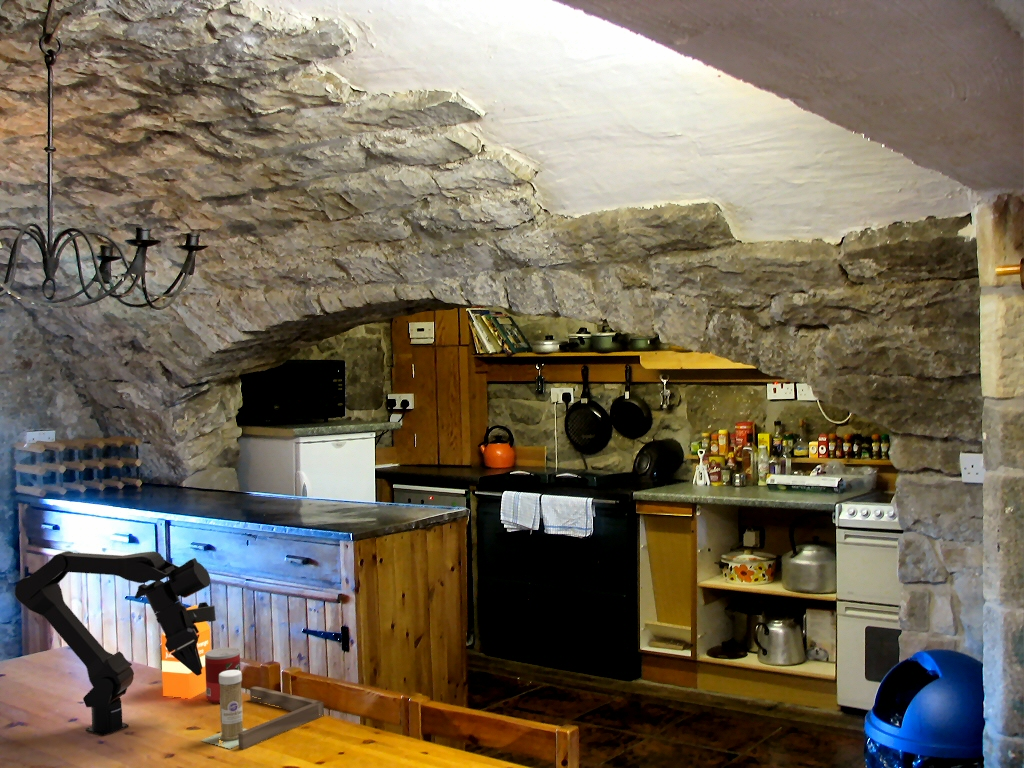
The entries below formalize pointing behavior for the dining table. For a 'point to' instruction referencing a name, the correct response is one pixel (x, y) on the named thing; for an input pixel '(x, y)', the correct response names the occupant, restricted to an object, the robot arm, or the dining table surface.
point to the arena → (300, 715)
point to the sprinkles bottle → (231, 704)
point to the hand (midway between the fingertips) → (200, 672)
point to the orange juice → (178, 675)
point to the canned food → (219, 669)
